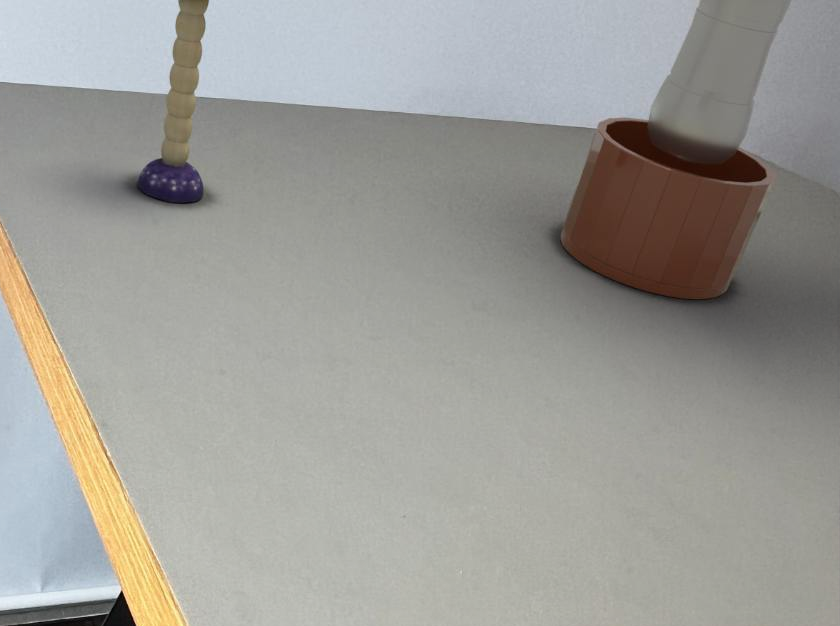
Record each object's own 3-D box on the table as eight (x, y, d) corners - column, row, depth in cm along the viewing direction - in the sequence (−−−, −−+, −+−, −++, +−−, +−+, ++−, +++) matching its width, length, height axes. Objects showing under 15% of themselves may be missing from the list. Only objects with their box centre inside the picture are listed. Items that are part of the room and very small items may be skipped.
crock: (696, 241, 94) (738, 137, 89) (752, 311, 84) (803, 198, 80) (543, 213, 92) (579, 105, 88) (583, 281, 82) (625, 164, 78)
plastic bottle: (720, 154, 87) (848, -168, 76) (739, 184, 81) (880, -158, 70) (631, 133, 87) (746, -192, 75) (644, 162, 81) (770, -185, 70)
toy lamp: (177, 210, 78) (221, -78, 68) (114, 186, 79) (149, -101, 69) (214, 193, 81) (260, -83, 72) (153, 170, 83) (191, -104, 73)
